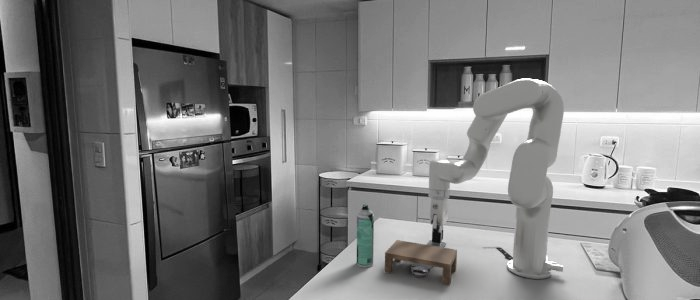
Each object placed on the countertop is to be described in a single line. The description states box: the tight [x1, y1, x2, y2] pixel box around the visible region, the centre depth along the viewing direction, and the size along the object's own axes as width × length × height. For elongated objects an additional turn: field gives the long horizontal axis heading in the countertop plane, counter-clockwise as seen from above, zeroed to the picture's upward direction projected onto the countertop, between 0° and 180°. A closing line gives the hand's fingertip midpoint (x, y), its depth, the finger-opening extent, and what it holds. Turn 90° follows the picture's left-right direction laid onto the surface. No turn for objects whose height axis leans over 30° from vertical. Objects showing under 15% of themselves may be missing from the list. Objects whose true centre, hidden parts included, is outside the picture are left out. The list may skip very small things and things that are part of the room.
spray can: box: [356, 204, 375, 268], centre depth 122 cm, size 6×6×20 cm
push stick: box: [410, 223, 447, 272], centre depth 130 cm, size 6×25×8 cm, turn 154°
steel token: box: [411, 266, 429, 278], centre depth 117 cm, size 5×5×1 cm
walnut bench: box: [384, 239, 458, 286], centre depth 118 cm, size 20×12×6 cm, turn 65°
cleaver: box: [482, 246, 513, 261], centre depth 141 cm, size 29×1×10 cm
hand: (437, 240), depth 140 cm, fingers closed on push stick, 3 cm apart
